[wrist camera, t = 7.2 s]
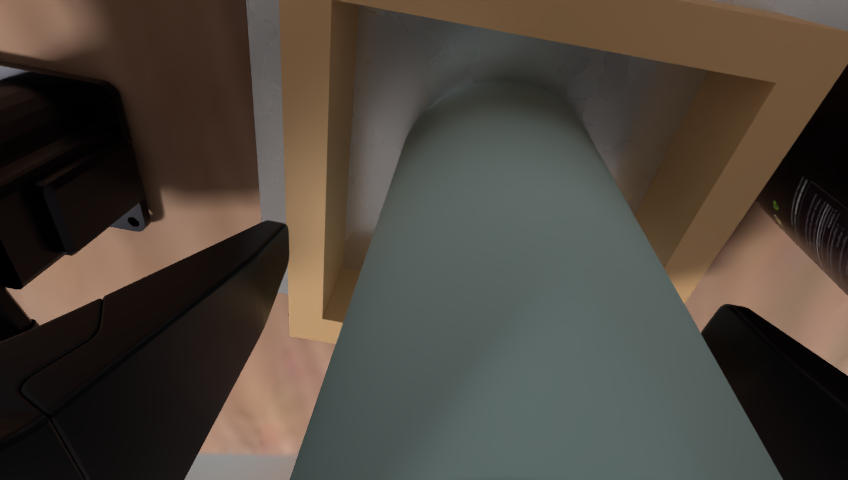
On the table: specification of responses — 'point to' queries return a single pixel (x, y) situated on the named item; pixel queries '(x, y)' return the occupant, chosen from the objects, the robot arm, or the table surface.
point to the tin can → (518, 321)
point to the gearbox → (549, 70)
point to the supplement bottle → (816, 186)
